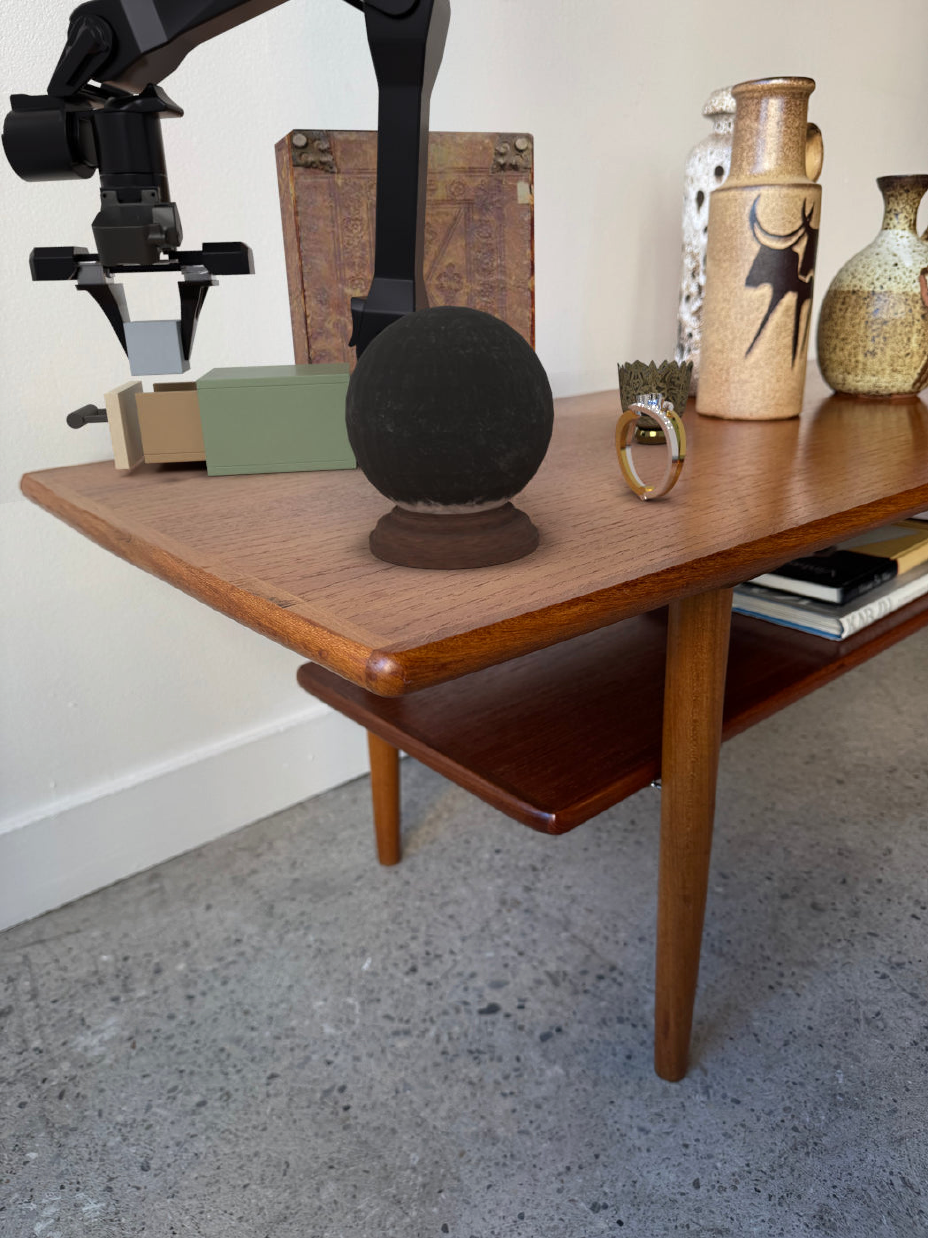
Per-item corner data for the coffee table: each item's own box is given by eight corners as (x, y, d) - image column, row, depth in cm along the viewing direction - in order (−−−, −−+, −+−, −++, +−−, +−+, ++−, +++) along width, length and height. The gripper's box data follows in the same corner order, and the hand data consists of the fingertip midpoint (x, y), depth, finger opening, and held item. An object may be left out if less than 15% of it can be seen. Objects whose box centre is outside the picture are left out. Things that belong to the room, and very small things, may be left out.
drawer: (67, 472, 83) (53, 395, 81) (96, 451, 93) (85, 382, 91) (254, 462, 85) (246, 387, 83) (264, 443, 95) (257, 375, 92)
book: (506, 417, 113) (502, 144, 102) (536, 427, 105) (536, 132, 94) (300, 434, 105) (273, 141, 95) (315, 447, 97) (288, 127, 87)
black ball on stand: (469, 509, 70) (463, 300, 65) (595, 543, 60) (600, 301, 55) (317, 543, 62) (296, 309, 57) (434, 588, 53) (421, 312, 47)
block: (190, 369, 89) (184, 318, 87) (182, 373, 84) (175, 321, 83) (141, 371, 88) (134, 320, 87) (131, 375, 84) (123, 323, 82)
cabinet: (207, 476, 84) (195, 380, 81) (223, 453, 95) (213, 367, 92) (356, 468, 86) (349, 373, 83) (355, 446, 97) (349, 362, 94)
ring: (605, 493, 74) (608, 390, 71) (639, 488, 75) (643, 387, 72) (654, 511, 68) (659, 400, 65) (691, 506, 69) (697, 397, 66)
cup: (637, 434, 99) (640, 357, 96) (701, 439, 95) (706, 359, 92) (602, 444, 94) (603, 363, 91) (668, 450, 89) (672, 365, 87)
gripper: (-11, 169, 72) (28, 374, 78) (231, 164, 74) (253, 364, 79) (34, 182, 82) (66, 362, 88) (245, 178, 84) (264, 354, 90)
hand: (160, 361), depth 86 cm, fingers closed on block, 4 cm apart
